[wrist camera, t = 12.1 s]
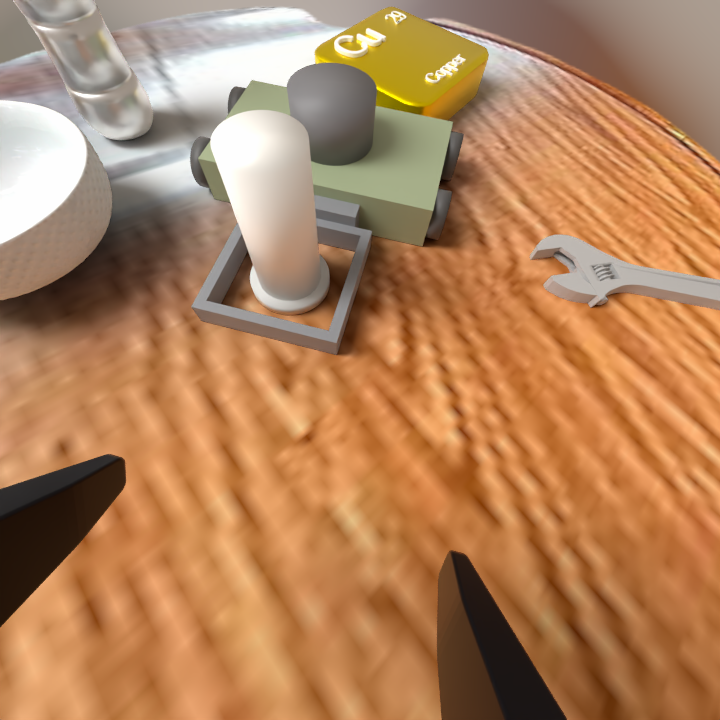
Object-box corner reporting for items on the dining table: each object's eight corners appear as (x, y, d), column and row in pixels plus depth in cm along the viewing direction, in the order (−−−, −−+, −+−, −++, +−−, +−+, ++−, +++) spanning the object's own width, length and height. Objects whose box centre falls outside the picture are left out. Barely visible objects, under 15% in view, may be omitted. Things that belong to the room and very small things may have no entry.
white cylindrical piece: (277, 328, 27) (232, 201, 16) (238, 273, 29) (175, 126, 18) (344, 291, 28) (346, 153, 17) (303, 241, 30) (282, 89, 19)
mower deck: (409, 373, 26) (436, 318, 18) (133, 303, 27) (56, 226, 20) (452, 164, 36) (481, 74, 28) (250, 120, 37) (227, 24, 29)
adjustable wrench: (804, 307, 31) (829, 296, 29) (825, 370, 28) (854, 361, 27) (531, 241, 32) (541, 227, 31) (527, 295, 30) (538, 282, 28)
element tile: (413, 153, 37) (422, 104, 32) (309, 95, 40) (305, 44, 36) (482, 93, 42) (498, 44, 37) (385, 47, 45) (390, -3, 41)
